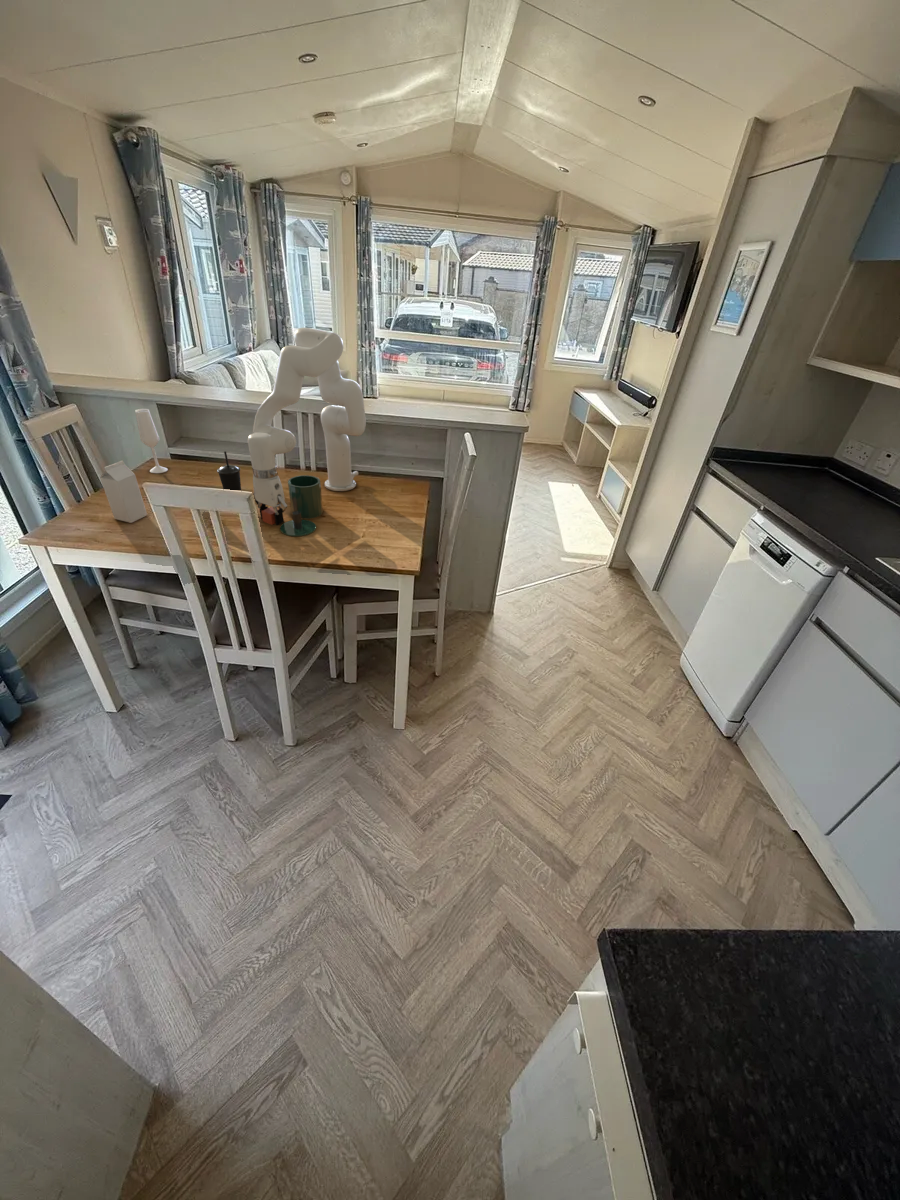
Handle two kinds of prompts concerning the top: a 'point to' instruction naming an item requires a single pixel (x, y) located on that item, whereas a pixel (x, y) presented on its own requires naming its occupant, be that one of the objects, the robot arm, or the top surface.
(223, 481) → the drinking cup
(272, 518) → the block
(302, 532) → the lid
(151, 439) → the champagne flute
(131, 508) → the milk carton
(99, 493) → the top surface
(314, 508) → the canister
